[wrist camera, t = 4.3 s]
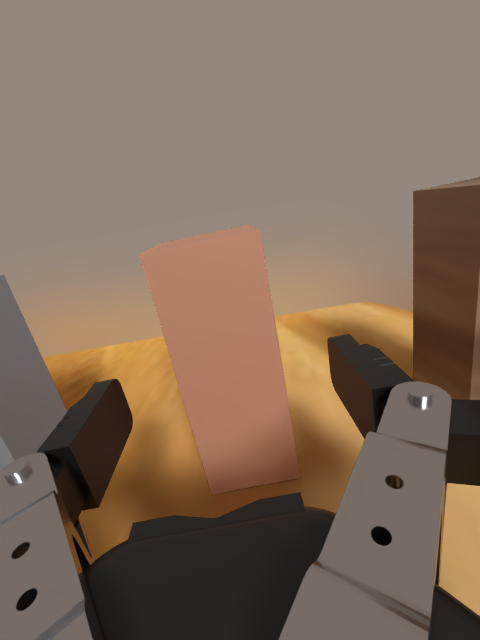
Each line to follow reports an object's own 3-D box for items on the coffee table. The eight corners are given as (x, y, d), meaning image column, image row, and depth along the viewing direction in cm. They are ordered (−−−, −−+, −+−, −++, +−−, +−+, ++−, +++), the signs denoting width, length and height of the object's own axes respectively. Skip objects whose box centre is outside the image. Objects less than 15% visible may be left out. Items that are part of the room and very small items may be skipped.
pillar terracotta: (211, 494, 15) (139, 254, 11) (214, 432, 20) (162, 242, 16) (300, 477, 15) (260, 230, 11) (284, 419, 19) (250, 224, 15)
